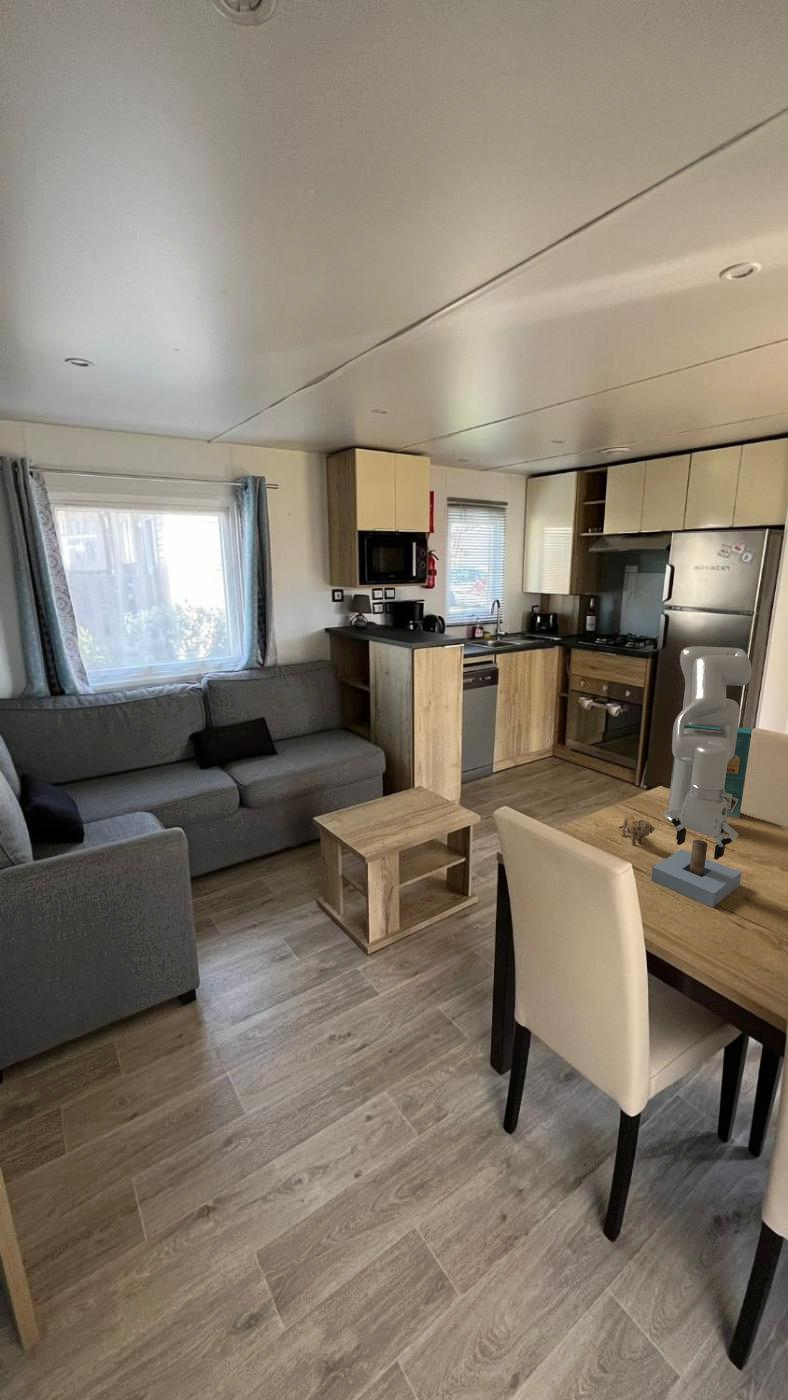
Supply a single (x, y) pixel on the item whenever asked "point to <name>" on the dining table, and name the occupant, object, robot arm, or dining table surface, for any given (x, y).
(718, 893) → the socket block
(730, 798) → the cake mix box
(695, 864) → the peg
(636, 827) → the lion figurine
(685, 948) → the dining table surface
